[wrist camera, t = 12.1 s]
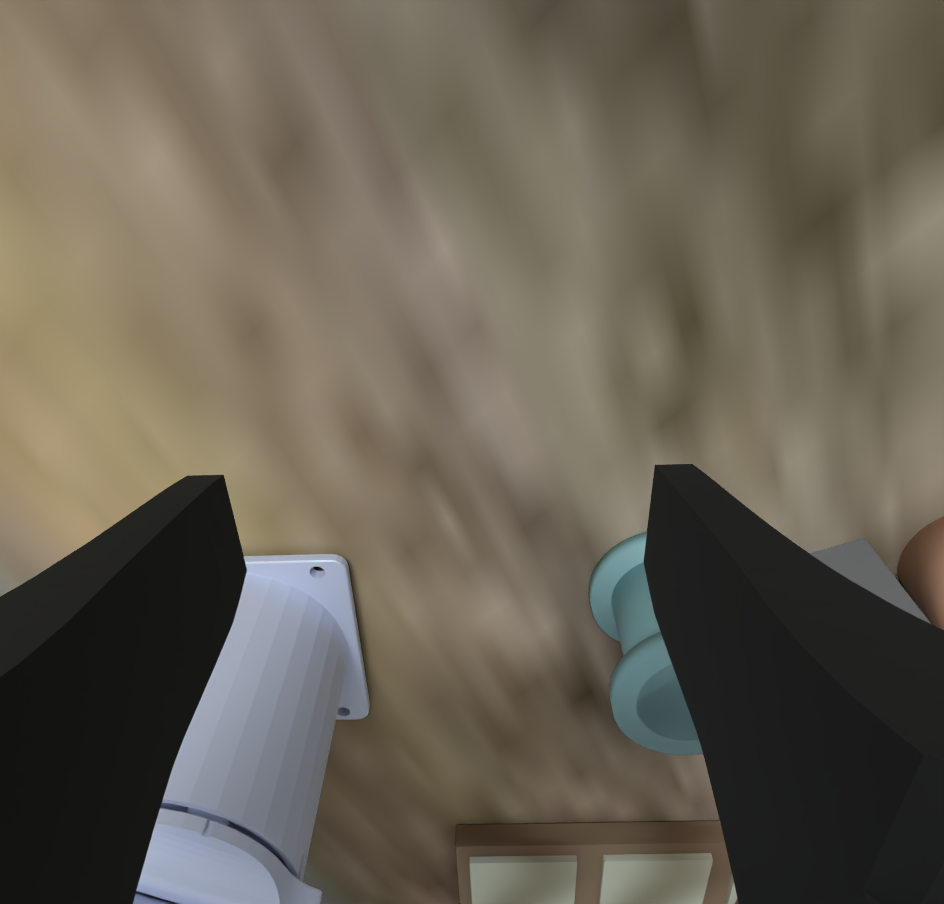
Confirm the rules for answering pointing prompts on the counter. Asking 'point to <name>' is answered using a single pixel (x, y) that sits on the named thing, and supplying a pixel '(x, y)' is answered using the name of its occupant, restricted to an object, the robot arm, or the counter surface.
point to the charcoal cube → (868, 573)
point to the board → (594, 863)
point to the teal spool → (640, 655)
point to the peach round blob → (925, 571)
